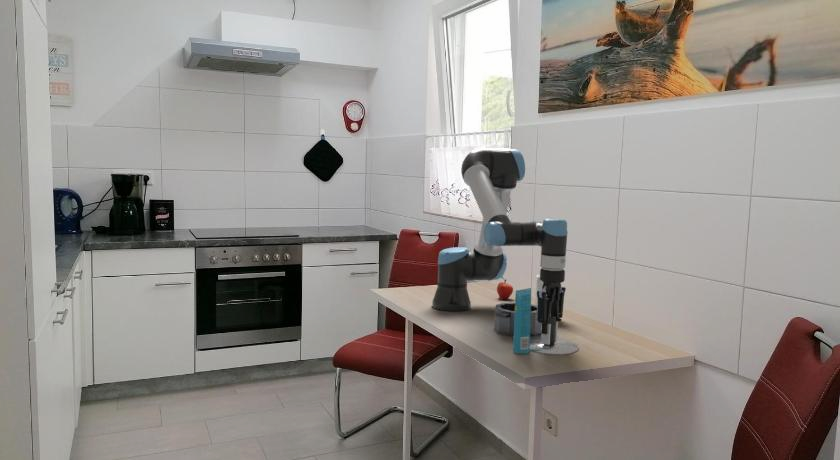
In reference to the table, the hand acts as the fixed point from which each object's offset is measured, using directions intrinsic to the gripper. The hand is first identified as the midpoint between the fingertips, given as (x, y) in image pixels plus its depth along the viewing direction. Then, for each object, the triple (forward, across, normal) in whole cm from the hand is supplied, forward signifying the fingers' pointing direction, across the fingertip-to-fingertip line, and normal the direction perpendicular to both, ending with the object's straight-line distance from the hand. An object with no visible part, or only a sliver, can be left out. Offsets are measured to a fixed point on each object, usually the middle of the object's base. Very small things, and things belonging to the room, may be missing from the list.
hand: (548, 342), depth 194 cm
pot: (+1, +8, +17) cm, 19 cm away
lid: (+1, 0, 0) cm, 1 cm away
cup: (+1, +31, +20) cm, 37 cm away
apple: (+1, +48, +51) cm, 70 cm away
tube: (+1, -12, +2) cm, 13 cm away
